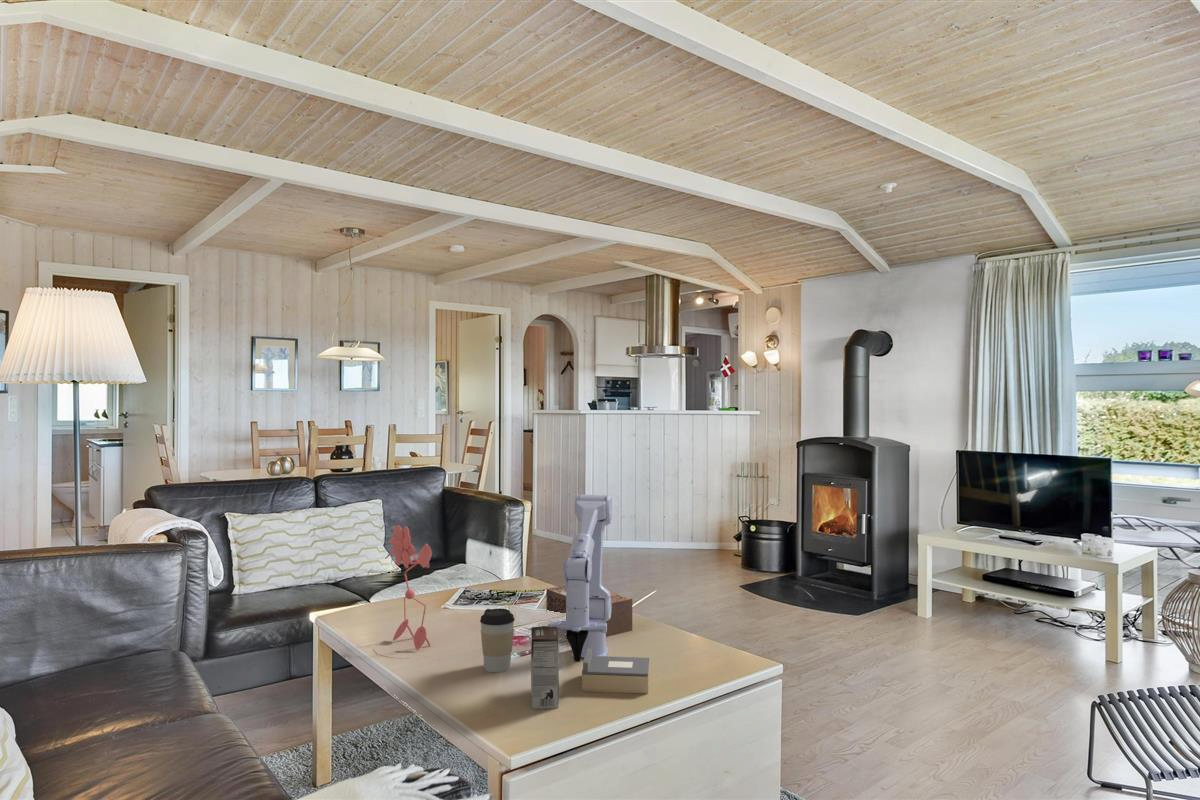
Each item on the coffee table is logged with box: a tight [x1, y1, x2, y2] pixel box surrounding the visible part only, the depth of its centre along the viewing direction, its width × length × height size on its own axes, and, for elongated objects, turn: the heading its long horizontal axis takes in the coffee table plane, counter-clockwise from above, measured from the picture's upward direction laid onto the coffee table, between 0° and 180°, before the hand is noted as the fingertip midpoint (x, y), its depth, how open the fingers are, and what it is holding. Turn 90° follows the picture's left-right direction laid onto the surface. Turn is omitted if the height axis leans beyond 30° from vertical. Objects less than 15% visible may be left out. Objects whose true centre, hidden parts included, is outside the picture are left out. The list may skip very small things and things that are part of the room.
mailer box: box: [581, 670, 650, 694], centre depth 182 cm, size 16×11×4 cm
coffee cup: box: [479, 608, 516, 673], centre depth 193 cm, size 9×9×15 cm
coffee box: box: [530, 626, 560, 710], centre depth 171 cm, size 9×6×16 cm
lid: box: [581, 649, 650, 676], centre depth 182 cm, size 16×11×2 cm
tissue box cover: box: [546, 585, 633, 638], centre depth 230 cm, size 26×14×10 cm, turn 37°
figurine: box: [384, 524, 432, 651], centre depth 208 cm, size 15×26×35 cm, turn 43°
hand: (577, 660), depth 183 cm, fingers closed
